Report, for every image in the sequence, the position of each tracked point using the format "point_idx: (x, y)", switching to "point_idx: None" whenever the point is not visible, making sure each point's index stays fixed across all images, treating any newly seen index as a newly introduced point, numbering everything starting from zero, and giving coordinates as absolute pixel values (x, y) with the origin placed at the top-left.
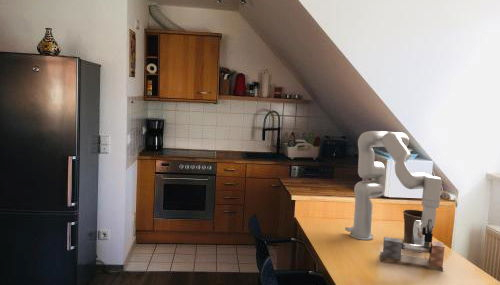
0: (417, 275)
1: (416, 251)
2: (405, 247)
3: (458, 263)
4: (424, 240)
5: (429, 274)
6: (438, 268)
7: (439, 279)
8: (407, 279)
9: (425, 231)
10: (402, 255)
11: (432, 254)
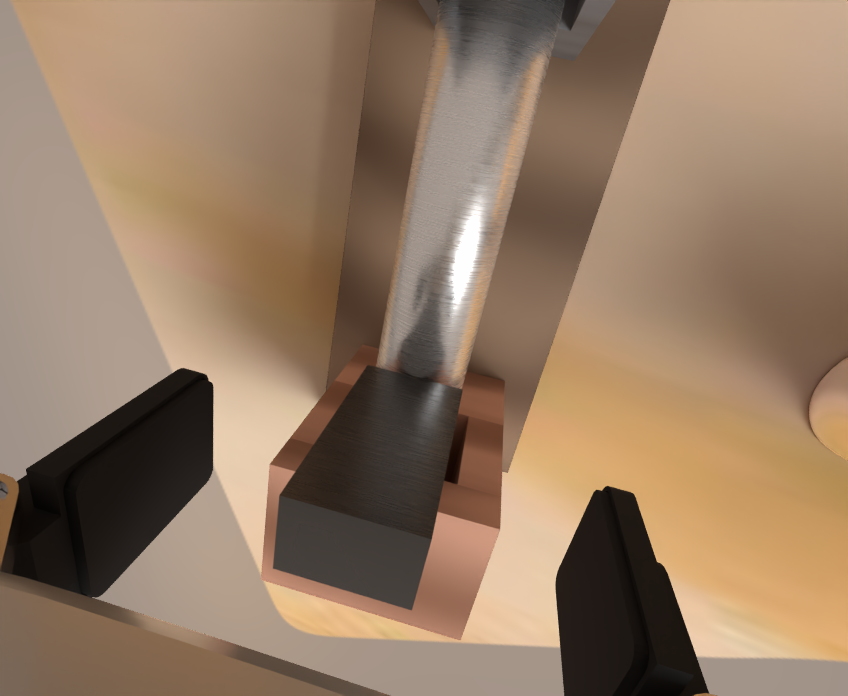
0: (170, 153)
1: (839, 363)
2: (430, 67)
3: (534, 588)
4: (173, 374)
5: (235, 276)
6: (327, 388)
7: (166, 320)
8: (36, 14)
9: (589, 595)
10: (608, 107)
11: (321, 402)
